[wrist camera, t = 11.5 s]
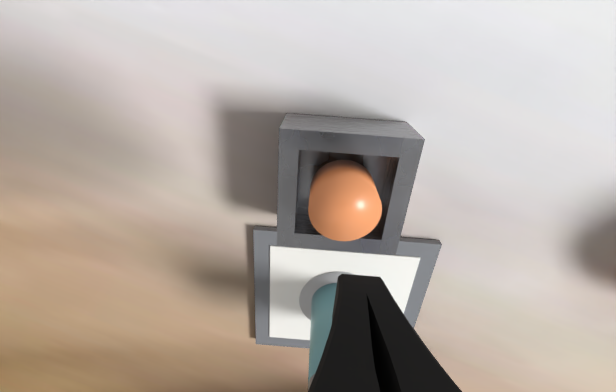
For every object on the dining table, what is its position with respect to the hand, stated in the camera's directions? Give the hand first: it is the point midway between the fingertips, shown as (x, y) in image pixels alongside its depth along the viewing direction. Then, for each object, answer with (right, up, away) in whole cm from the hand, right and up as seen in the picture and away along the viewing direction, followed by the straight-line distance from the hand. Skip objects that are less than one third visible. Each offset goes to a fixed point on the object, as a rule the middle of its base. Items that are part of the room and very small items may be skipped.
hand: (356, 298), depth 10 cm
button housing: (0, +5, +9) cm, 10 cm away
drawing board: (+1, -5, +14) cm, 15 cm away
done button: (0, +4, +7) cm, 8 cm away
